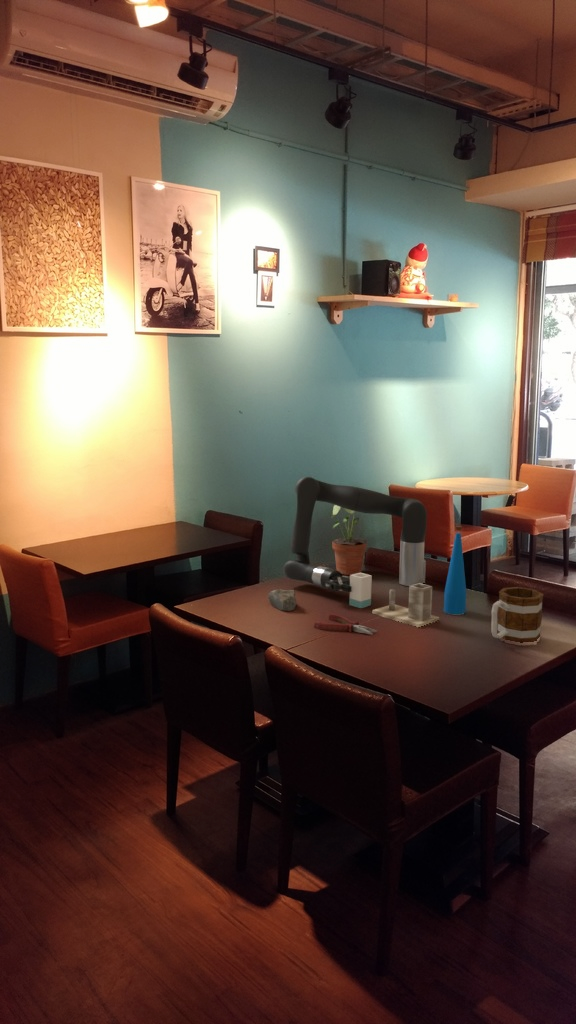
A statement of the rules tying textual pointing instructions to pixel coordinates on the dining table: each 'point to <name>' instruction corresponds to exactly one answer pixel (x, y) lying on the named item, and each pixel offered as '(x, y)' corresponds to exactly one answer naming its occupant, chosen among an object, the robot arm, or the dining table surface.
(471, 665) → the dining table surface
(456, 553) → the bottle
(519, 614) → the mug
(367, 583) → the sleeve
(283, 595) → the rock
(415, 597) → the peg socket fixture
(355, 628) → the pliers
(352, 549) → the potted plant
